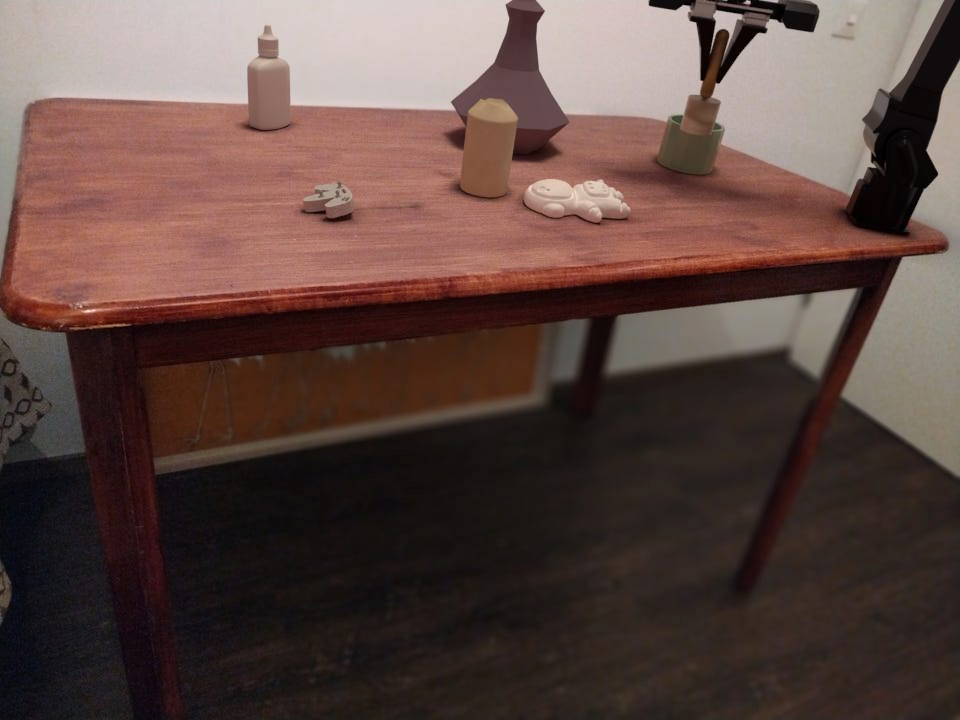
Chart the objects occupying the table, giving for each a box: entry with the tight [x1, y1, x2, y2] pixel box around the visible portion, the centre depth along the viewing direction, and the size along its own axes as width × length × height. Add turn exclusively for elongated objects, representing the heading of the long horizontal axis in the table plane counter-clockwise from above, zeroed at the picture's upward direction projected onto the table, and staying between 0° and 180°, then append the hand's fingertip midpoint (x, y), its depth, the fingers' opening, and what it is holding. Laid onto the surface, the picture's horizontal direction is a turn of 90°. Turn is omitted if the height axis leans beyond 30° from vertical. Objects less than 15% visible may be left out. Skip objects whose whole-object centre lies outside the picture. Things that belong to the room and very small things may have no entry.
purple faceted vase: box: [450, 0, 570, 155], centre depth 97 cm, size 16×16×20 cm
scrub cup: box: [656, 113, 726, 176], centre depth 103 cm, size 8×8×6 cm
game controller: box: [302, 180, 418, 219], centre depth 75 cm, size 6×12×3 cm, turn 132°
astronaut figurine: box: [523, 178, 631, 224], centre depth 83 cm, size 9×12×3 cm
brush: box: [680, 28, 730, 136], centre depth 90 cm, size 4×4×12 cm
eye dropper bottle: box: [246, 24, 291, 131], centre depth 92 cm, size 4×6×12 cm
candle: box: [459, 98, 518, 198], centre depth 82 cm, size 6×6×10 cm
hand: (709, 81), depth 90 cm, fingers closed on brush
